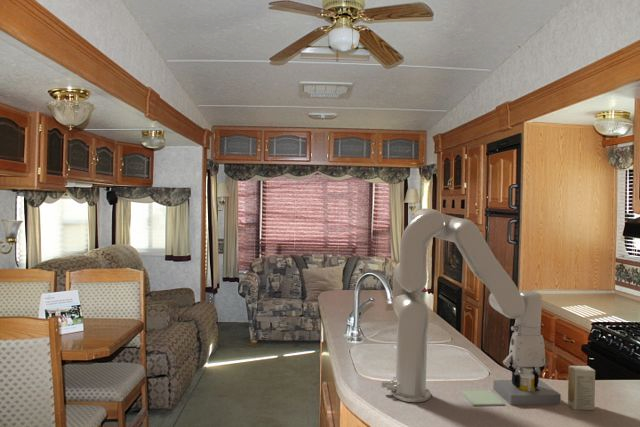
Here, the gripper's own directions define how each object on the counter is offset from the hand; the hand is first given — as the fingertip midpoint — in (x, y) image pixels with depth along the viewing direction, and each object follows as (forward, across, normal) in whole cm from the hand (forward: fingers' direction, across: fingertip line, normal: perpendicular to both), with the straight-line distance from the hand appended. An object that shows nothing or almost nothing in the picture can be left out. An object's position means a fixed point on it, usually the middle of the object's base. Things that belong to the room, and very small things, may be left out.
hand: (524, 385), depth 153 cm
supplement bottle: (+4, 0, 0) cm, 4 cm away
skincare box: (+4, +14, -8) cm, 16 cm away
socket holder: (+4, 0, 0) cm, 4 cm away
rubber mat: (+4, -15, -1) cm, 15 cm away
